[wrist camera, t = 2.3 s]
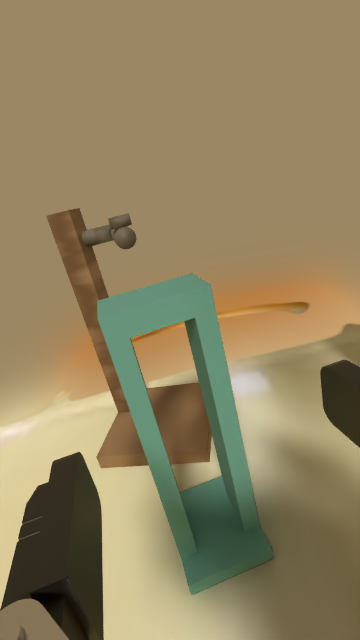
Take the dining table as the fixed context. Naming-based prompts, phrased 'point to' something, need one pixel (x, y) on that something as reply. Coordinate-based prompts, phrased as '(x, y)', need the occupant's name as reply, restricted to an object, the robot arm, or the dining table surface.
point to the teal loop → (234, 485)
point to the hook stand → (168, 402)
